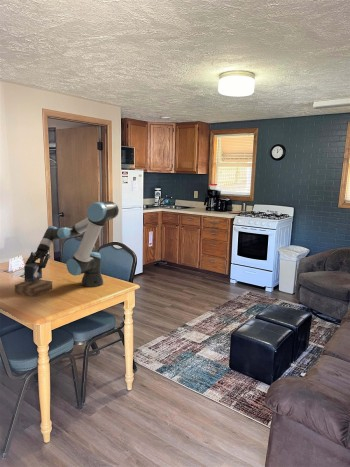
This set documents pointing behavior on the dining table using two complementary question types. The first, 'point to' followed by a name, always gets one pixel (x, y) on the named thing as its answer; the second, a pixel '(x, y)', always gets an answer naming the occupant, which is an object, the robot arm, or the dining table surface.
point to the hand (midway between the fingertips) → (29, 275)
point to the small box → (31, 272)
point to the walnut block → (33, 287)
